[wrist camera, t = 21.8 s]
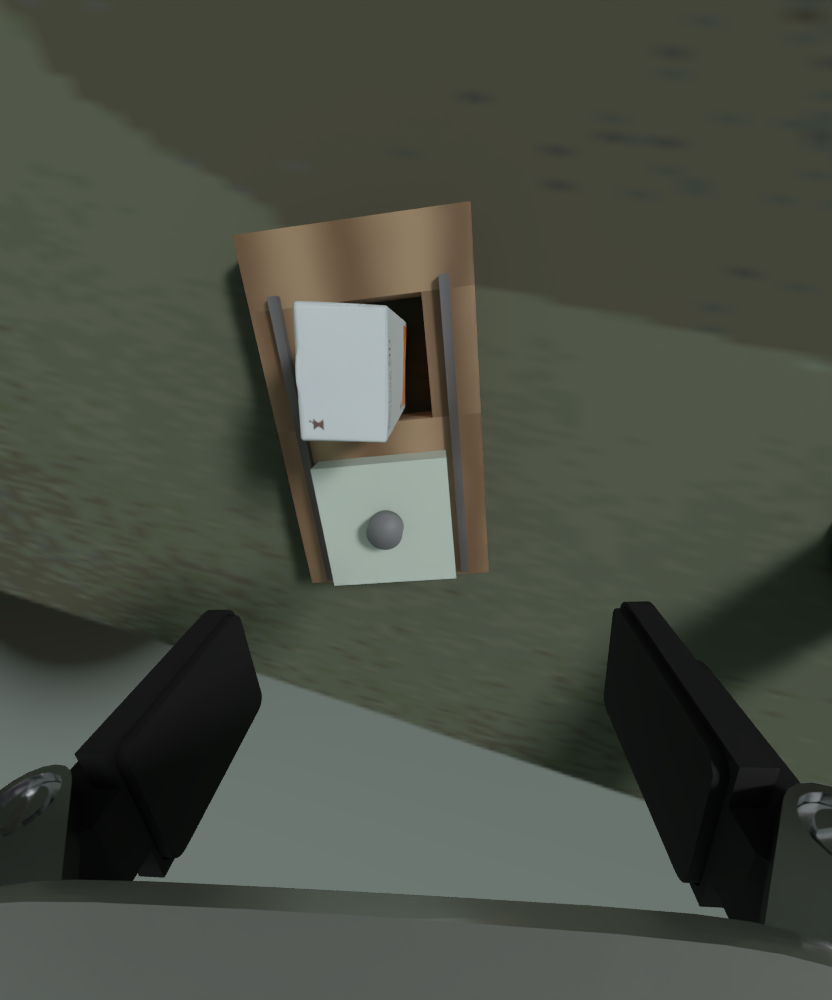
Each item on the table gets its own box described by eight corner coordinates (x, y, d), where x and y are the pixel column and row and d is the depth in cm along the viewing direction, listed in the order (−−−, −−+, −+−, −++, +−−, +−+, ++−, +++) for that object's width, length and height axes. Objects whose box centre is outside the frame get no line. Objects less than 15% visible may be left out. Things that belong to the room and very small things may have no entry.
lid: (445, 449, 28) (446, 462, 25) (455, 564, 31) (456, 587, 28) (318, 461, 29) (304, 475, 26) (340, 571, 32) (330, 595, 29)
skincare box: (407, 408, 30) (387, 448, 19) (350, 406, 30) (297, 443, 19) (409, 319, 28) (389, 303, 17) (347, 316, 28) (287, 299, 17)
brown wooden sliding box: (467, 216, 25) (471, 197, 22) (484, 553, 34) (489, 576, 31) (253, 246, 27) (226, 232, 23) (322, 564, 35) (309, 587, 32)
